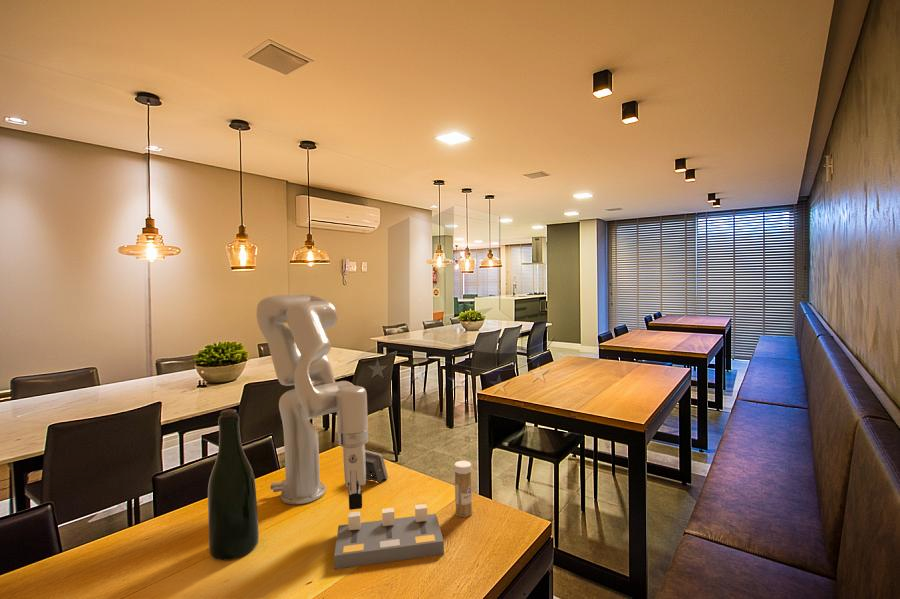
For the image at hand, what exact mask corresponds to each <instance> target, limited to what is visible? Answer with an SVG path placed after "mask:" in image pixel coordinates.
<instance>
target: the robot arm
mask: <svg viewBox="0 0 900 599" xmlns="http://www.w3.org/2000/svg"><path fill="white" fill-rule="evenodd" d="M338 319H339V318H338V311H337V308H336V307H335V305H333V303H332V302H330V300H329V301H328V300H327V299H324V298H321V297H319V296H316V295H313V294H309V293H307V294H280V295H279V294H278V295H271V296H266V297H264V298H262V299H261V300H260V301H259V302H258V304H257V306H256V322H257V326H258V328H259V330H260V332H261V334H262V336H263V337H264V339H265V341H266V343H267V345H268V349H269V352H270V356H271V361H272V364H273V368H274V371H275V375H276V378H277V381H278V382H279V384H280V385H282V386H286V387H287V386H288V387H289V386H294V388H293V389H290V390H288V391H286V392H284V393H283V394H282V395H281V396H280V398H279V401H278V408H279V409H278V410H279V412H280V413H279V414H280V418H281V421H282V428H283V430H282V431H283V442H284V443H283V444H284V445H283V446H284V464H285V466H284V467H285V468H284V470H285V480H282V481H277V482H276V481H274V482H271V483H270V490H272V492H273V493H278V492H281V493H280V500H281V501H282V503H285V504H287V505H304V504H307V503H311V502H314V501H316V500H318V499H320V498H321V497H323V495H325V494H326V490H327V488H326V487H327V486H326V485H325V484H324V483H323V482H321V473H320V471H321V470H320V451H319V450H320V449H319V448H320V447H319V444H320V443H319V433H318V429H317V428H316V427H315V425H313V423H311V421H310V420H312V419H314V418H317V417H318V418H319V417H321V416H325V415H328V414H332V413H336V426H337V445H338V446H340V447H342V455H343V456H342V457H343V472H344V473H343V474H344V484H345V487H347V488H348V509H349V511H350V510H351V511H352V510H359V509H360V510H361V509H362V508H363V490H362V488H361V486H365V485H366V481H367V480H366V458H365V450H366V446H365V445H366V444H367V443H368V442H369V425H368V424H369V422H368V418H369V417H368V394H367V390H366V388H365V387H363V386H359V385H354V384H353V383H352V382H350V381H347V380H340V381H336V379H335V377H334V375H335V374H334V372H333V370H332V365H331V363H330V360H329V358H328V356H327V354H329V353H330V351H331V348H332V344H331V342H330V339H329V337H328V335H327V332H326V330H328V329H333V328H334V327H336V324H337V322H338ZM285 324H288V326H286V325H285Z"/></svg>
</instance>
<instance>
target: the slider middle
mask: <svg viewBox="0 0 900 599" xmlns="http://www.w3.org/2000/svg"><path fill="white" fill-rule="evenodd" d="M381 512H382V520H383V526H389V525H395V523H394V519H395V509H394V507H388V508H387V507H386V508H382V509H381Z"/></svg>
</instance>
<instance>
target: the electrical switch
mask: <svg viewBox="0 0 900 599" xmlns="http://www.w3.org/2000/svg"><path fill="white" fill-rule="evenodd" d="M365 458H366V479H367V480H366V481H368V480H374V481H377V482H378V483H379V484H380V483H381V482H382V481H384V480H383V479H386V480H385V481H387V480H388V478H389V476H388V472H387V467H386V464H385V461H384V460H385V459H384V457H383V454H381V453H379V452H376V451H375V452H374V451H370V450H367V449H365ZM371 475H372V476H371ZM373 476H374V477H373ZM378 483H377V484H378Z"/></svg>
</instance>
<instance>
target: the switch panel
mask: <svg viewBox="0 0 900 599" xmlns="http://www.w3.org/2000/svg"><path fill="white" fill-rule="evenodd" d="M394 523H395V525H389V526H383V519H380V520H373V521H365V522H361V529H357V530H349V527H348V523H347V524H340V525H339V524H338V527H337V533H336V534H337V535H336V542H335V548H334V558H333V560H334V570H339V569H345V568H352V567H359V566H360V567H361V566H368V565H375V564H381V563H382V564H383V563H390V562H396V561H404V560H412V559H419V558H425V557H433V556H441V555H445V546H444V545H445V544H444V542H445V541H444V538H443V534H442V531H441V528H440V527H441V526H440V523H439V520H438V516H437V513H430V514H427V521H421V522H416V519H415V515H412V516H406V517H398V518H394Z"/></svg>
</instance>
